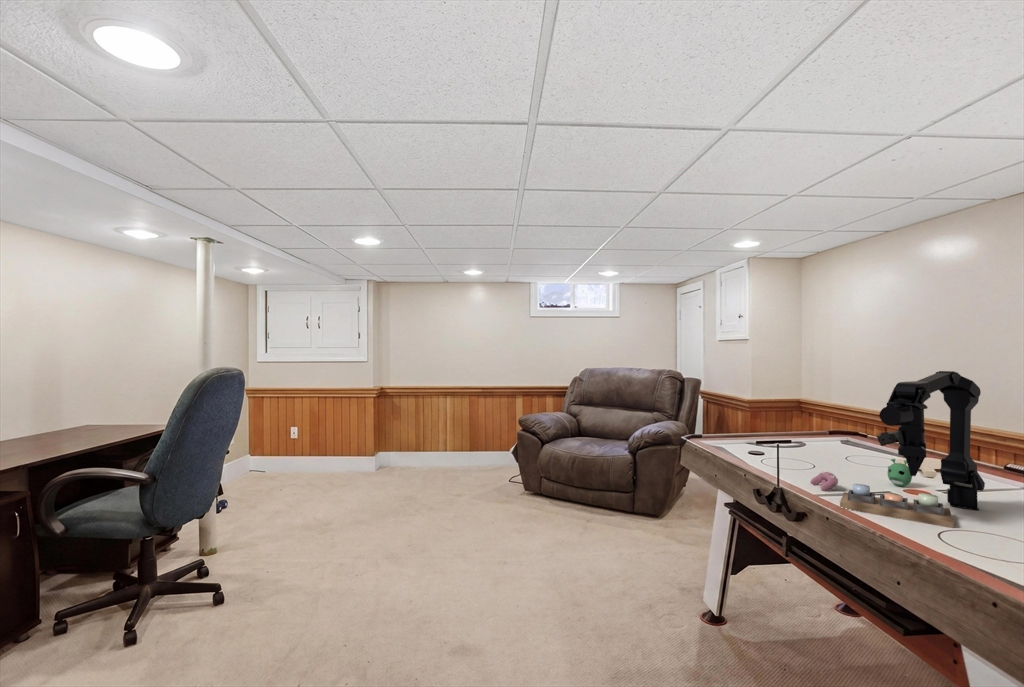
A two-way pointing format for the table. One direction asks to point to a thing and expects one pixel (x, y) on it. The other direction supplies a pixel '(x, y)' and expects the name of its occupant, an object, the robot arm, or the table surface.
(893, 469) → the alien toy
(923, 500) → the sage button
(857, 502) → the button panel
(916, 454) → the robot arm
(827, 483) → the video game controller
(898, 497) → the terracotta button
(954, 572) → the table surface
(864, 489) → the slate button
